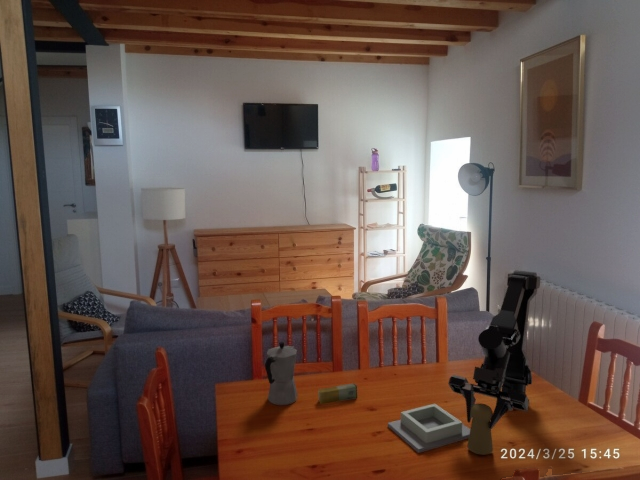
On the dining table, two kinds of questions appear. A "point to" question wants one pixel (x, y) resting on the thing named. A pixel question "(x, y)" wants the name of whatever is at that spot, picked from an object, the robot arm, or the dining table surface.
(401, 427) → the socket stand
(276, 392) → the coffeepot
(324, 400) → the medication box
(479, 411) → the cork
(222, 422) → the dining table surface
